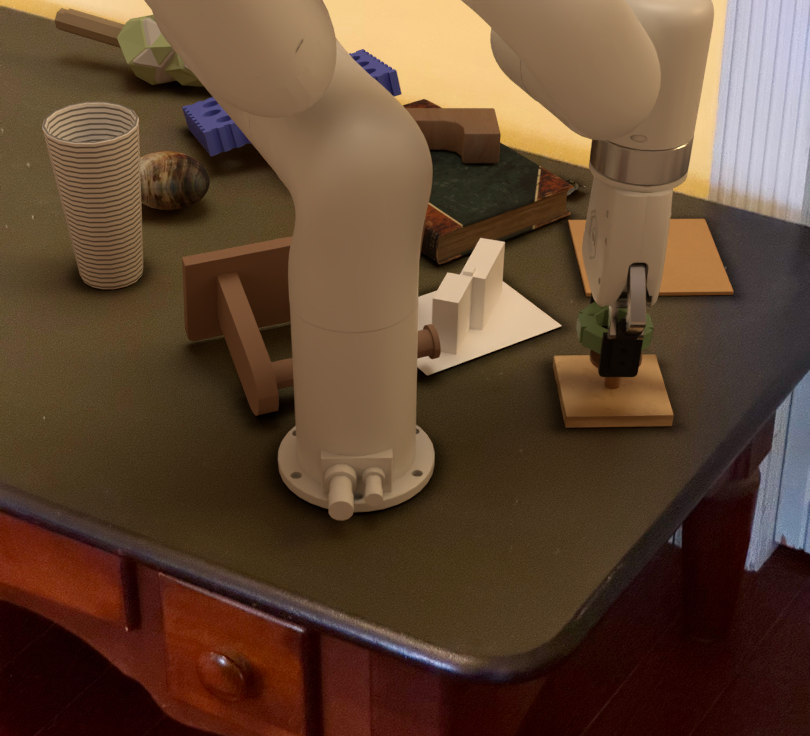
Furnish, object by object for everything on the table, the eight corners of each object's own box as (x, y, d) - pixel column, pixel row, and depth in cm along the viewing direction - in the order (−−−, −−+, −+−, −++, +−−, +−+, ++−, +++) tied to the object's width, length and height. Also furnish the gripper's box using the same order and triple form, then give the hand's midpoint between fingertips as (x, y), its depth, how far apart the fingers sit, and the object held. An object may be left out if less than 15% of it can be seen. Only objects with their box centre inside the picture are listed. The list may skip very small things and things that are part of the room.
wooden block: (492, 137, 153) (351, 137, 152) (494, 107, 151) (350, 107, 150) (499, 163, 148) (352, 164, 147) (501, 133, 146) (352, 133, 145)
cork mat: (733, 294, 137) (733, 291, 136) (586, 296, 136) (586, 293, 136) (704, 221, 147) (704, 218, 147) (567, 223, 147) (568, 219, 146)
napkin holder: (489, 271, 139) (492, 217, 135) (563, 325, 132) (568, 270, 128) (358, 317, 133) (357, 262, 129) (428, 376, 126) (430, 320, 122)
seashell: (154, 198, 153) (107, 213, 146) (149, 142, 150) (100, 156, 144) (229, 204, 149) (184, 221, 142) (225, 148, 146) (179, 162, 140)
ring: (655, 356, 118) (658, 340, 117) (582, 356, 118) (584, 339, 117) (643, 317, 122) (645, 301, 121) (572, 316, 122) (574, 300, 121)
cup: (83, 248, 142) (59, 97, 132) (167, 255, 141) (150, 104, 131) (54, 293, 136) (27, 139, 125) (142, 301, 135) (122, 146, 124)
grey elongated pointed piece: (572, 200, 149) (587, 209, 151) (580, 178, 149) (595, 188, 151) (529, 190, 153) (544, 199, 155) (537, 169, 153) (552, 178, 155)
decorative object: (86, 35, 178) (264, 88, 172) (40, 68, 172) (224, 124, 166) (78, -35, 172) (264, 18, 166) (31, -3, 166) (222, 53, 159)
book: (572, 217, 147) (425, 127, 162) (575, 184, 145) (426, 96, 160) (436, 267, 140) (295, 168, 155) (437, 234, 137) (294, 137, 152)
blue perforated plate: (323, 39, 170) (328, 61, 172) (144, 110, 162) (151, 132, 163) (439, 66, 151) (444, 90, 153) (243, 147, 143) (250, 172, 144)
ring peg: (671, 426, 121) (682, 360, 117) (565, 428, 121) (572, 362, 116) (653, 365, 128) (663, 301, 123) (552, 366, 127) (558, 302, 123)
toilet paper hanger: (226, 453, 123) (226, 381, 114) (185, 334, 129) (181, 257, 120) (460, 399, 128) (477, 327, 120) (410, 287, 134) (422, 211, 126)
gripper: (576, 103, 116) (554, 298, 127) (607, 206, 103) (580, 412, 114) (669, 104, 116) (638, 298, 128) (712, 207, 103) (674, 413, 115)
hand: (611, 350), depth 121 cm, fingers closed on ring, 6 cm apart
